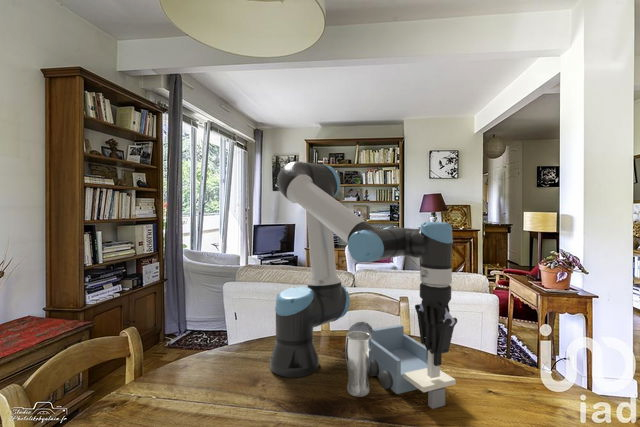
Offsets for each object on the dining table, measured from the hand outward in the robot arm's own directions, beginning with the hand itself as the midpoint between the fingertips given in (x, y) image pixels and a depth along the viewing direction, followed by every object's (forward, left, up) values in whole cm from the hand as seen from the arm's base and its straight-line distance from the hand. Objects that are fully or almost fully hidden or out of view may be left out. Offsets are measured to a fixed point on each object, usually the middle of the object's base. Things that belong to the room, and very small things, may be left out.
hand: (433, 375), depth 84 cm
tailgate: (-5, +3, -2) cm, 6 cm away
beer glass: (-18, -7, -7) cm, 21 cm away
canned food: (-31, +15, -7) cm, 35 cm away
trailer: (-8, +5, -7) cm, 12 cm away
